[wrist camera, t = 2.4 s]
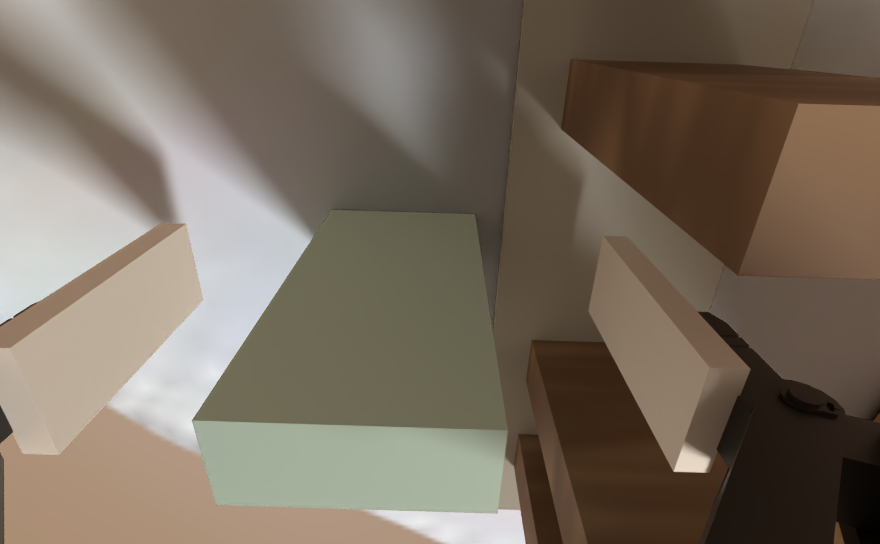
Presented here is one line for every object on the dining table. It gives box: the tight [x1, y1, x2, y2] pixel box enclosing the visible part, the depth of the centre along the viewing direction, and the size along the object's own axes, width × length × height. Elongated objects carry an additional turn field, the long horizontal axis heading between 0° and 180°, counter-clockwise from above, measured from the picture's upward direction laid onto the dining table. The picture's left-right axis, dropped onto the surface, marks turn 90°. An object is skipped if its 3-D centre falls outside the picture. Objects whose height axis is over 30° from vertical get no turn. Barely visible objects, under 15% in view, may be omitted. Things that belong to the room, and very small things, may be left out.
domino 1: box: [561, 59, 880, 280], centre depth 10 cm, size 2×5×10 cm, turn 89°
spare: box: [192, 210, 508, 514], centre depth 12 cm, size 2×5×10 cm, turn 88°
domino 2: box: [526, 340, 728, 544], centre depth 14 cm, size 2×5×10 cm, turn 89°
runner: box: [493, 0, 814, 510], centre depth 17 cm, size 28×8×1 cm, turn 178°
